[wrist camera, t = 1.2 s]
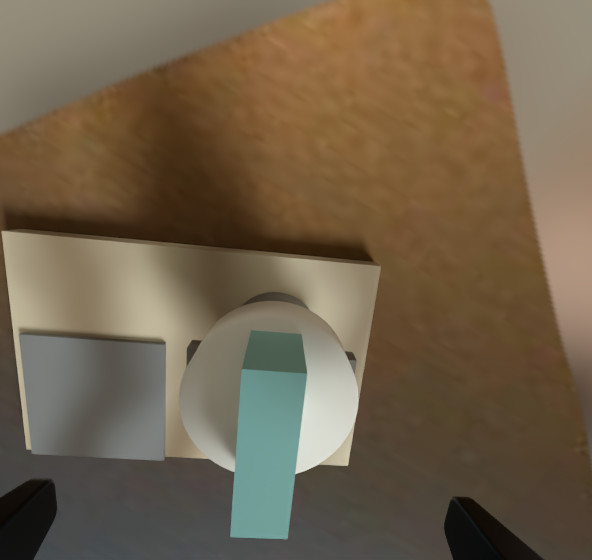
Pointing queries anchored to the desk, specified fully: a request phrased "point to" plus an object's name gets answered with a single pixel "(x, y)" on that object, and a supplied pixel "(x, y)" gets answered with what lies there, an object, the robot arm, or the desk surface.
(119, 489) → the desk surface
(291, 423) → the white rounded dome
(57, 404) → the board
